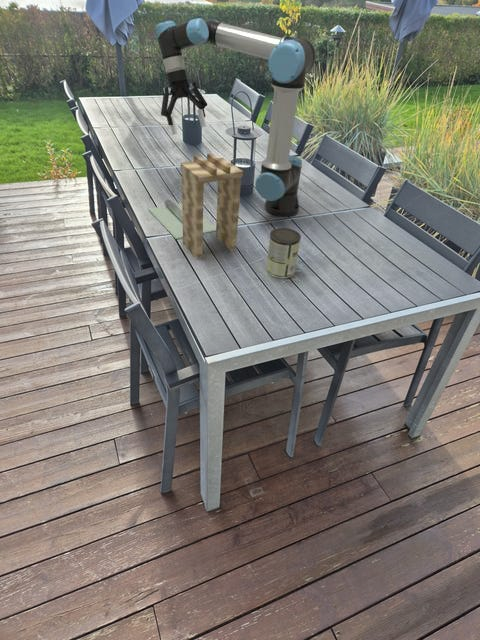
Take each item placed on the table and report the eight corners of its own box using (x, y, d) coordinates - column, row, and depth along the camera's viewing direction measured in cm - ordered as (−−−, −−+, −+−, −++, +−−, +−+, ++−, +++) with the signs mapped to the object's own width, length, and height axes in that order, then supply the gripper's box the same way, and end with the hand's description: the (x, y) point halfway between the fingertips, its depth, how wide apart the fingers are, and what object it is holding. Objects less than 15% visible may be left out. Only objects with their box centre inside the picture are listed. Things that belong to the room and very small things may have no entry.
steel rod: (164, 205, 186) (165, 199, 185) (170, 206, 188) (172, 199, 186) (188, 230, 171) (190, 223, 169) (195, 230, 172) (197, 223, 171)
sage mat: (148, 210, 184) (148, 208, 184) (187, 203, 192) (187, 202, 192) (176, 239, 166) (176, 238, 166) (217, 231, 174) (217, 229, 173)
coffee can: (269, 260, 159) (273, 225, 150) (297, 266, 157) (303, 230, 148) (262, 275, 151) (267, 238, 142) (291, 281, 149) (298, 244, 140)
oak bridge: (181, 242, 164) (180, 156, 144) (219, 234, 171) (222, 151, 151) (198, 260, 155) (199, 171, 135) (237, 251, 162) (243, 165, 142)
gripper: (197, 67, 175) (210, 124, 184) (142, 77, 163) (158, 137, 173) (207, 64, 169) (219, 123, 178) (150, 74, 157) (167, 136, 167)
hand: (189, 130), depth 175 cm, fingers open, 13 cm apart
